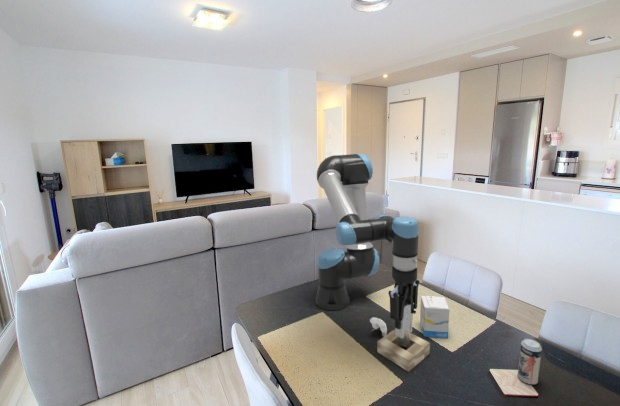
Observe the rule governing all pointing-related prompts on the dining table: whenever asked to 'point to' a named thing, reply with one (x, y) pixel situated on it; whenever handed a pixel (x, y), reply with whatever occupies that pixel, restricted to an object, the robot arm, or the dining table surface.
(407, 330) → the peg
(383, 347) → the socket block
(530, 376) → the beer can
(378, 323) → the white coral lump
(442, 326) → the ink box
